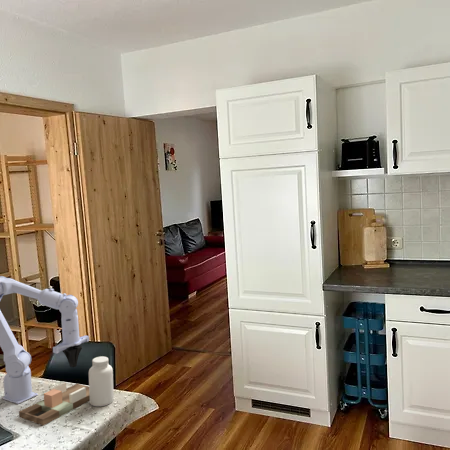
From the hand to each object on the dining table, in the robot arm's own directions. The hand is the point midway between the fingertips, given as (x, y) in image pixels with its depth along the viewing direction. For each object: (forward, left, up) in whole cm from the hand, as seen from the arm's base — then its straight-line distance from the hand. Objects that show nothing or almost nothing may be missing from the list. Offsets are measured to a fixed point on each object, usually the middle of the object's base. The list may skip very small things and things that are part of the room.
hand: (73, 366), depth 161 cm
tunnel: (+5, -7, -7) cm, 11 cm away
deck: (+5, -10, -9) cm, 15 cm away
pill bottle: (+16, -2, -10) cm, 18 cm away
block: (+5, -13, -7) cm, 16 cm away
